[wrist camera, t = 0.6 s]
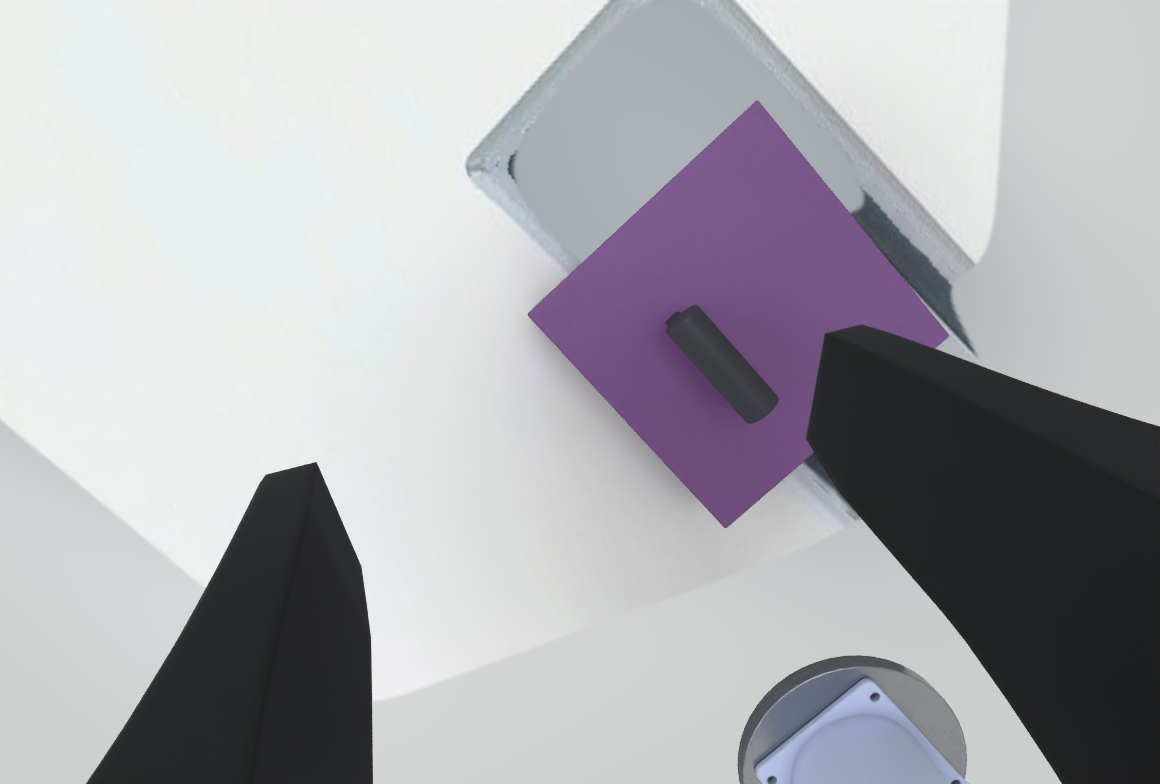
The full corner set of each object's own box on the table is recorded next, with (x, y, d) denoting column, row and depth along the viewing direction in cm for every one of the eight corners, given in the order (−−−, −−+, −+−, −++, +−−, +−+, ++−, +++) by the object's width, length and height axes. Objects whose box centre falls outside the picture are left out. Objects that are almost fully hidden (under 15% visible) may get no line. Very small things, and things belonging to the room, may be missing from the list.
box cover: (753, 103, 28) (788, 70, 24) (942, 334, 30) (1007, 343, 26) (527, 313, 29) (521, 319, 25) (722, 524, 31) (748, 563, 27)
